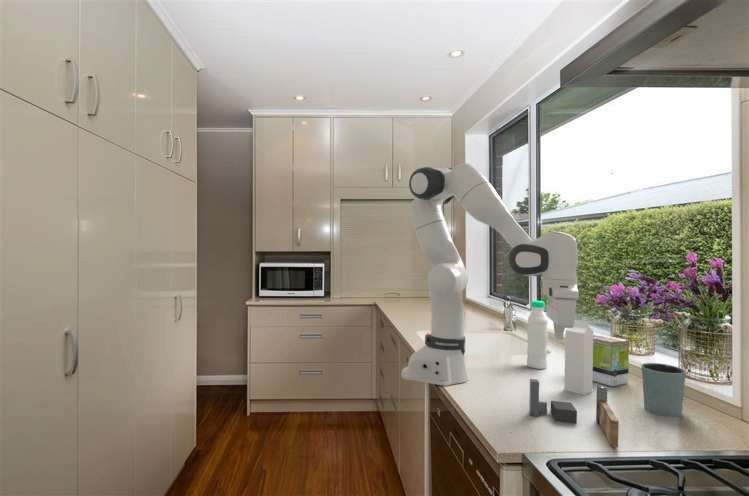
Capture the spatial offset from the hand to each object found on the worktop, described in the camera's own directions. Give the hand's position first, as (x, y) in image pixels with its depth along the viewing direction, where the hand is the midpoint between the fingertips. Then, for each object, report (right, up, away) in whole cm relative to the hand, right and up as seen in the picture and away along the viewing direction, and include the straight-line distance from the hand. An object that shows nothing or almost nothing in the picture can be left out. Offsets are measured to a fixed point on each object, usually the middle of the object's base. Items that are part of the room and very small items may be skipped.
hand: (558, 338), depth 114 cm
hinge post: (+6, -19, -10) cm, 23 cm away
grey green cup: (+28, -20, -1) cm, 35 cm away
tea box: (+26, -20, +27) cm, 43 cm away
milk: (+13, -20, +14) cm, 27 cm away
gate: (+4, -18, -18) cm, 26 cm away
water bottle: (+10, -20, +41) cm, 46 cm away
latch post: (-8, -19, -6) cm, 21 cm away
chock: (-2, -19, -8) cm, 21 cm away
